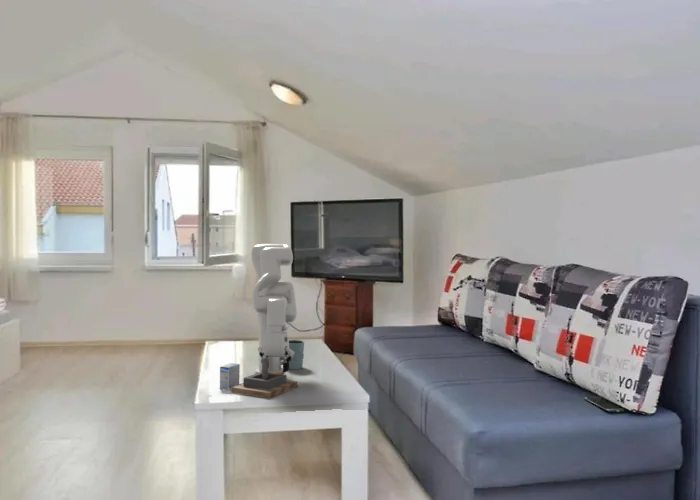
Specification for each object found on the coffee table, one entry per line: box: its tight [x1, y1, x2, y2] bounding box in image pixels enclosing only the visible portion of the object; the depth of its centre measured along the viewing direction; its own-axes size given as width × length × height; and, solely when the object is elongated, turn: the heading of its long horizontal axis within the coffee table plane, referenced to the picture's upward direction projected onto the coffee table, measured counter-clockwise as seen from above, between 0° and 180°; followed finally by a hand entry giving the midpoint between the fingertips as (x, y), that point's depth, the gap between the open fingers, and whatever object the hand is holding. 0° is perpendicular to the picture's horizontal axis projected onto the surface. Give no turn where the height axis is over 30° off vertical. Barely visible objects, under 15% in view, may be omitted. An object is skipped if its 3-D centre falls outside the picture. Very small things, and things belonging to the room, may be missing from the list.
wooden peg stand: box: [230, 357, 299, 399], centre depth 233 cm, size 20×18×13 cm
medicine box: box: [219, 362, 241, 390], centre depth 237 cm, size 8×4×9 cm, turn 159°
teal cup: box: [288, 339, 305, 370], centre depth 272 cm, size 10×10×12 cm
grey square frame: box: [242, 372, 287, 389], centre depth 235 cm, size 16×12×3 cm
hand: (275, 370), depth 240 cm, fingers open, 9 cm apart
